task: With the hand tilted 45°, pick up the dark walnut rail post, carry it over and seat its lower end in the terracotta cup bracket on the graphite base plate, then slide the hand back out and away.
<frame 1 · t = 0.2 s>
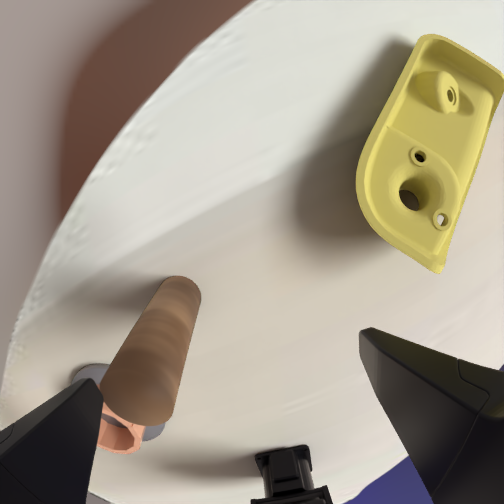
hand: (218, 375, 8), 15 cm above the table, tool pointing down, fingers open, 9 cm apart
walnut rail post: (179, 296, 23), on the table
cup bracket: (118, 403, 26), on the table
plastic component: (420, 141, 22), on the table
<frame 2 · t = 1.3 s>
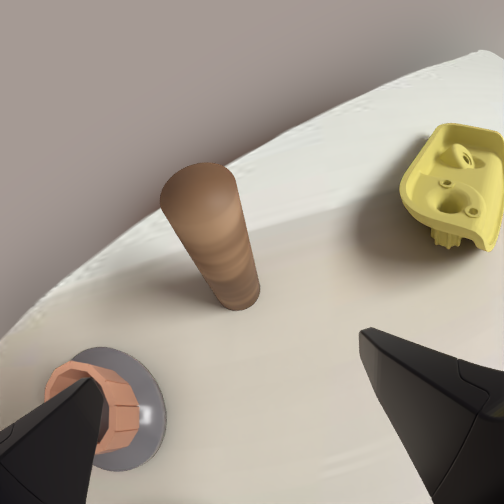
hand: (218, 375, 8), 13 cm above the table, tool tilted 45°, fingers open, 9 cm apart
walnut rail post: (238, 289, 24), on the table
cup bracket: (108, 410, 20), on the table
plastic component: (451, 200, 26), on the table
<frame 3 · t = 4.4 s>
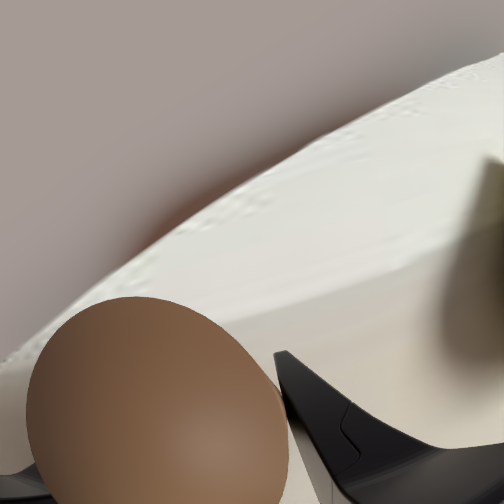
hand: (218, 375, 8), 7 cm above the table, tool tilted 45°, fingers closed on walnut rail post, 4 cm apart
walnut rail post: (251, 410, 13), on the table, touching gripper
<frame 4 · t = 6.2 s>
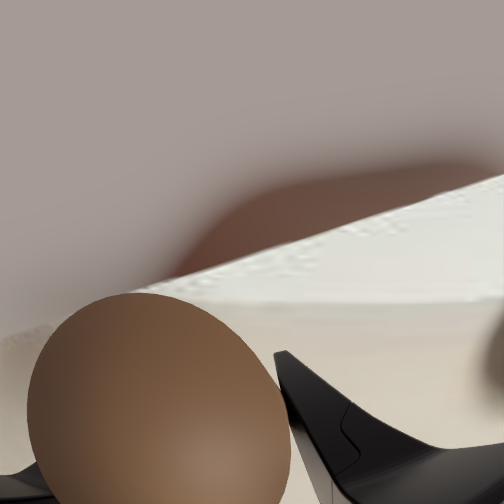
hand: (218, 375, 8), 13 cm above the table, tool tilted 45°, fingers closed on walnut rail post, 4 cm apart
walnut rail post: (251, 409, 14), point 7 cm above the table, touching gripper
when the fingers open (9 cm above the table, at t = 8.4 s): walnut rail post drops 2 cm, resting on cup bracket.
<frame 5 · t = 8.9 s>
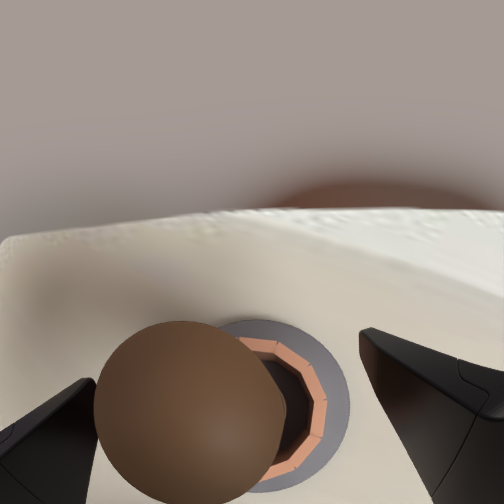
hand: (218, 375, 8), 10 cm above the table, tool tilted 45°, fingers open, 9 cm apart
walnut rail post: (255, 409, 15), point 1 cm above the table, touching cup bracket
cup bracket: (256, 408, 16), on the table
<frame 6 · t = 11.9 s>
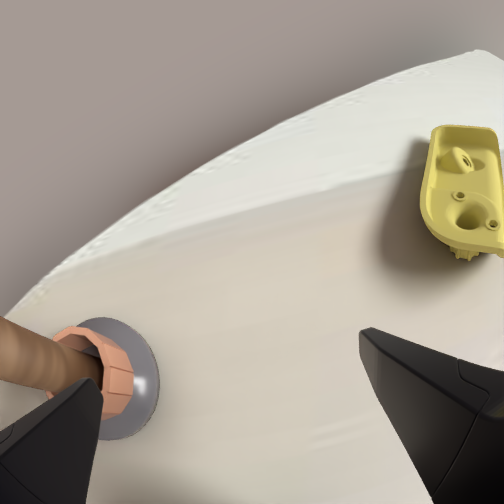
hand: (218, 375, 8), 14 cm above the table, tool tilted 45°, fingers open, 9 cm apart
walnut rail post: (98, 378, 21), point 1 cm above the table, touching cup bracket
cup bracket: (104, 379, 21), on the table
plastic component: (458, 206, 26), on the table
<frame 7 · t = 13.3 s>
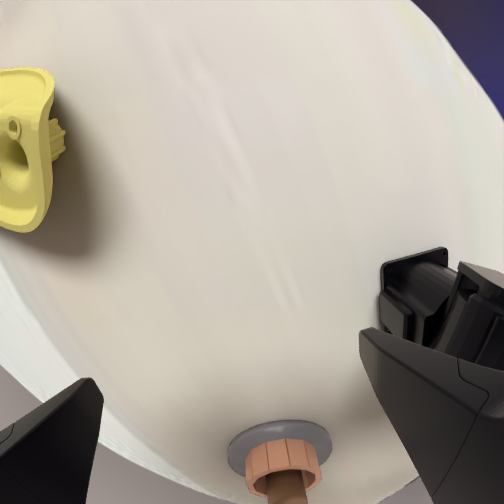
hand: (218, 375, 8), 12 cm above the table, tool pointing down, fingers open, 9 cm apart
walnut rail post: (280, 457, 25), point 1 cm above the table, touching cup bracket
cup bracket: (279, 451, 26), on the table
plastic component: (7, 143, 17), on the table
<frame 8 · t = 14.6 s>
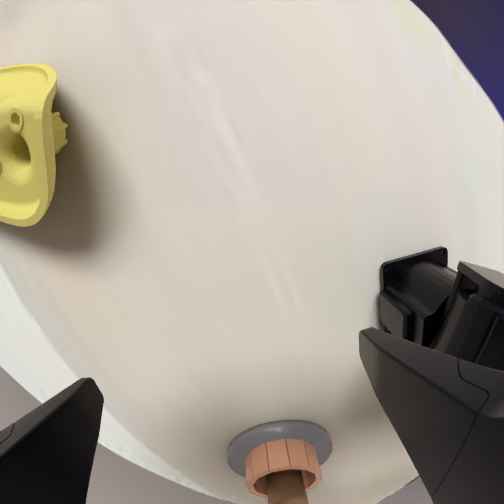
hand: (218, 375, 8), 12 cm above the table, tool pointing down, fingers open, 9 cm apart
walnut rail post: (280, 458, 25), point 1 cm above the table, touching cup bracket
cup bracket: (279, 451, 26), on the table
plastic component: (8, 140, 17), on the table
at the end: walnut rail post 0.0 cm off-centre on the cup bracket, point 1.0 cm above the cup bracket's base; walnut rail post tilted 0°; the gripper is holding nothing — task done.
